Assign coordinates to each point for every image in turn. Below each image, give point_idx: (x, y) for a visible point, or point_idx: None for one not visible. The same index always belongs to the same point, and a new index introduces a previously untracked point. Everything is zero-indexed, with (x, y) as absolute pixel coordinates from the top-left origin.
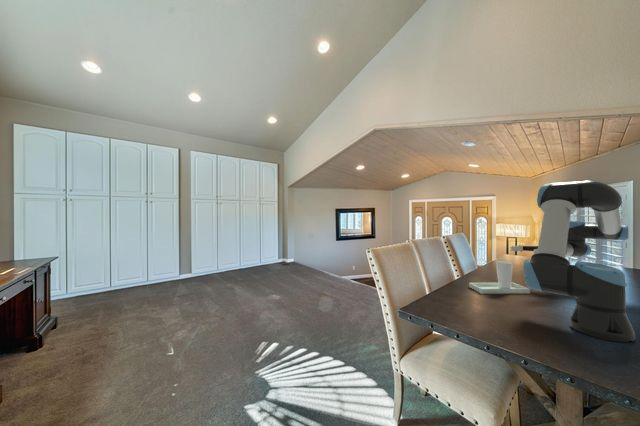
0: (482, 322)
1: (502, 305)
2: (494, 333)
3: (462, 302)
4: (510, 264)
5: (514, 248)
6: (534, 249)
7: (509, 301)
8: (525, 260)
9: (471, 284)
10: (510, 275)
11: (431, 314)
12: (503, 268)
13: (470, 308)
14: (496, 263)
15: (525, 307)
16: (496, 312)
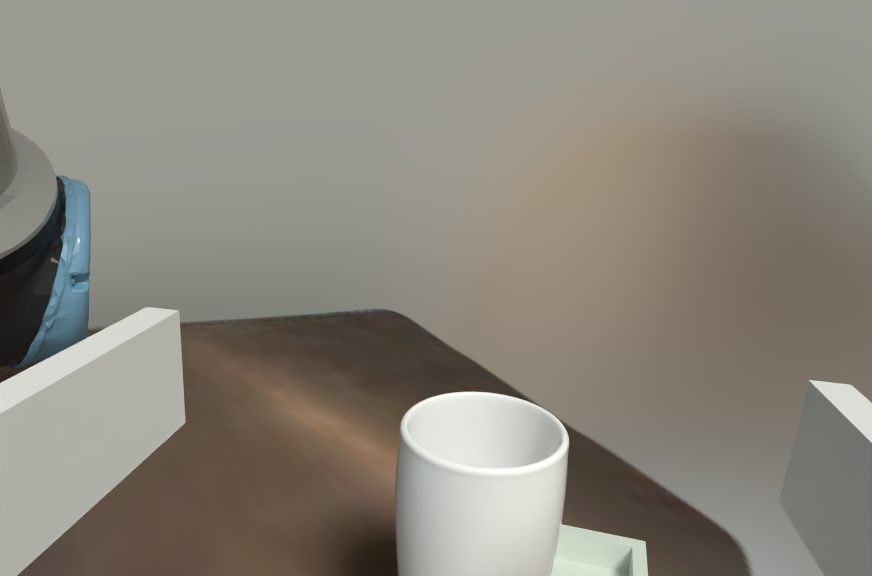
0: (204, 363)
1: (251, 488)
2: None
3: (378, 409)
4: (399, 438)
5: (828, 481)
6: (159, 310)
7: (265, 560)
8: (82, 182)
9: (603, 536)
10: (397, 561)
11: (333, 328)
12: (432, 451)
13: (309, 395)
14: (532, 424)
15: (145, 550)
16: (219, 424)
